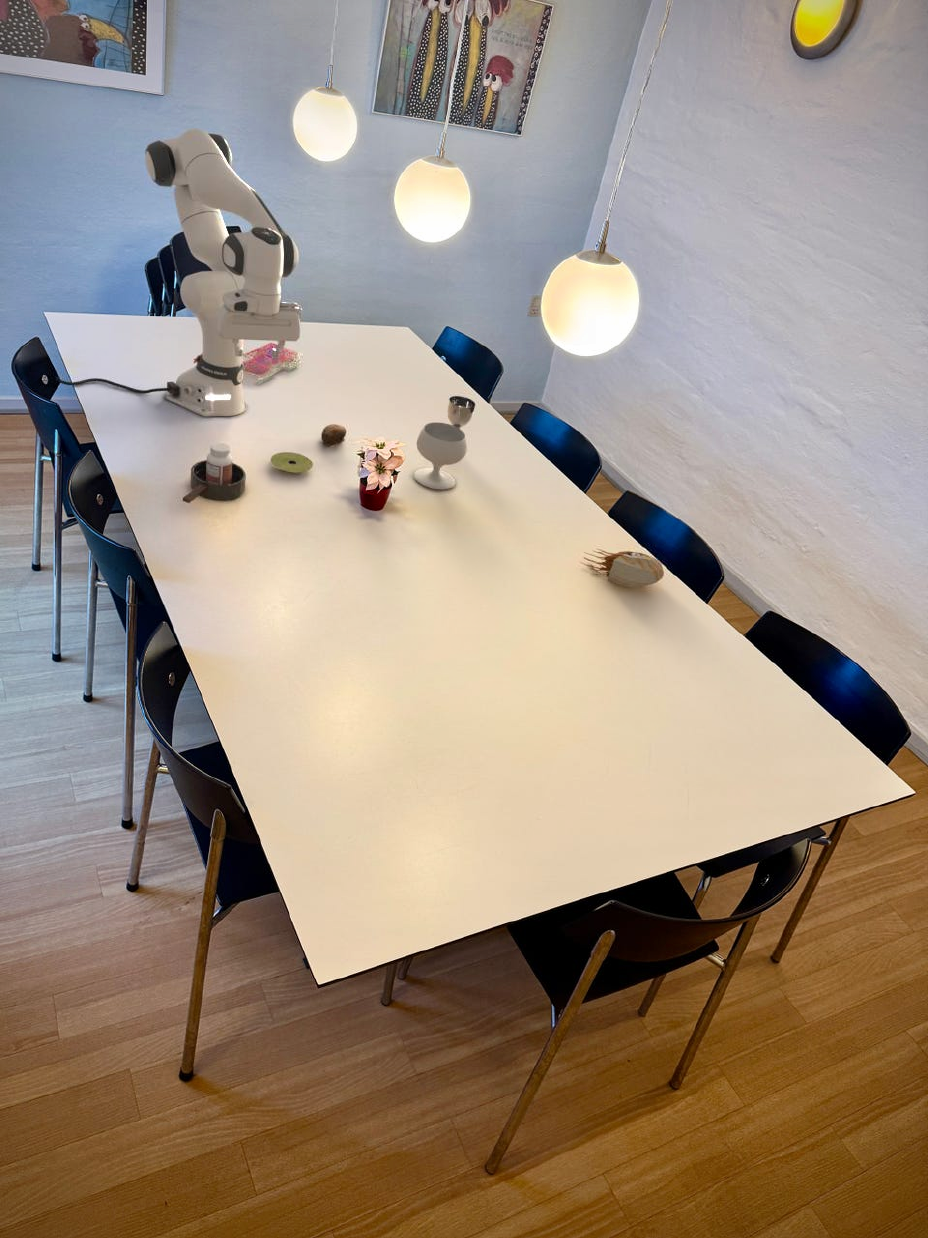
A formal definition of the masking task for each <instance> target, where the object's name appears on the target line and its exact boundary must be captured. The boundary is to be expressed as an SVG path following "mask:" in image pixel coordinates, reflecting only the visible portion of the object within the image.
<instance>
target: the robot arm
mask: <svg viewBox="0 0 928 1238" xmlns="http://www.w3.org/2000/svg"><path fill="white" fill-rule="evenodd" d="M144 153H145V156H144V161H145V167H146V171H147V172H148V174H149V176H150V177H151V180H152V181H153V182H154V184H156V185H157V186H160V187H165V188H166V187H167V188H172V186H174V190H173V196H174V203H175V207H176V212H177V216H178V220H179V223H180V225H181V228H182V232H183V234H184V237H185V240H186V243H187V246H188V248H189V251H190V254H191V255H192V256H193V258H195V259H196V260H198V261H200V262H201V263H203V264H205V265H206V266H207V267H208V268H210V270H202V271H198V272H195V273H192V274H188V275H186V276H185V277H184V278H183V279H182V281H181V284H180V288H179V293H180V299H181V301H182V303H183V305H184V306H185V308H186V309H187V310H188V311H189V312H190V313H192V314H193V315H194V316H195V317H196V319H197V321H198V322H199V325H200V329H201V333H202V334H201V335H202V352H201V353H200V354H199V355H197V356H196V357H195V358H194V359H193V364H196V365H195V366H194V367H191V368H189V369H188V370H186V371H184V372H182V373H180V374H179V376H178V377H177V379H175V382H174V381H167V382H166V387H159V388H158V387H157V388H150V389H145V390H143V389H137V388H133V387H130V386H128V385H125V384H121V383H117V382H114V381H112V380H109V379H105V378H97V377H94V378H87V379H82V380H79V381H66V380H63V379H60V378H58V377H56V378H57V379H56V380H57V381H56V380H55V381H56V382H57V383H59V384H62V385H66V386H79V385H83V384H87V383H91V382H101V383H106V384H109V385H112V386H115V387H116V388H117V387H118V388H120V389H124V390H127V391H130V392H134V393H137V394H149V393H150V394H151V393H156V392H166V394H165V399H166V400H167V401H169V402H172V403H175V404H176V405H178V406H181V407H182V408H185V409H187V410H189V411H191V412H193V413H196V414H198V415H200V416H202V417H216V416H217V417H233V416H237V415H240V414H242V413H244V412H245V409H246V406H245V401H244V395H243V380H244V371H243V369H244V366H245V365H244V362H245V361H244V360H243V357H244V356H243V354H244V344H245V342H244V341H271V342H276V343H277V344H276V345H277V346H276V348H274V347H273V348H272V349H271V350H272V351H271V352H272V355H271V356H273V357H274V358H275V357H279V355H280V351H281V350H282V348H283V347H285V346H286V342H297V341H299V339H300V337H301V319H302V314H303V308H302V306H301V305H299V304H298V303H296V302H286V301H281V295H282V287H281V280H282V278H288V277H289V276H290V275H291V274H292V273H293V272H294V271H295V270H296V268H297V266H298V264H299V260H300V256H299V255H300V254H299V249H298V247H297V245H296V243H295V241H294V240H293V238H292V237H291V236H290V235H289V234H288V233H287V232H286V231H285V230H284V229H283V228H282V226H281V225H280V224H279V223H278V221H277V219H276V218H275V217H274V215H273V214H272V213H271V211H270V210H269V208H268V206H267V205H266V204H265V202H264V201H263V199H262V198H261V197H260V195H259V194H258V193H257V191H256V190H255V189H253V188H252V186H250V185H248V184H247V183H246V182H244V181H243V180H242V179H241V177H239V176H238V174H236V172H235V171H234V170H233V156H232V155H233V154H232V152H231V149H230V146H229V144H228V141H227V140H226V139H225V138H224V137H223V136H222V135H220V134H217V133H208V132H206V131H205V130H202V129H199V128H191V129H188V130H185V131H184V132H182V133H181V134H180V136H178V137H172V138H168V139H165V140H162V141H161V140H156V141H154V142H151V143H149V144H148V145H147V147H146V148H145V152H144ZM221 212H226V213H230V214H231V215H232V214H233V215H236V216H238V217H241V218H242V219H244V220H245V221H247V222H248V223H249V225H250V226H251V227H252V228H251V229H249V231H246V232H233V233H230V234H229V232H228V229H227V227H226V225H225V222H224V219H223V215H222V213H221ZM273 357H272V358H273ZM58 379H59V381H58ZM72 382H73V383H72Z"/></svg>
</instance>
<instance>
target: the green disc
mask: <svg viewBox="0 0 928 1238" xmlns="http://www.w3.org/2000/svg"><path fill="white" fill-rule="evenodd" d="M270 463H271V465H272V466H274V467H275V468H277V469H279V470H280V471H281V470H282V471H284V472H288V473H304V472H307V471H309V470H311V469H312V468H313V466H314V464H313V463H314V462H313V461H312V459H310V458H309V457H308V456H305V455H303V454H300V453H297V452H291V451H283V452H277V453H275V454H273V455H272V456H271V457H270Z"/></svg>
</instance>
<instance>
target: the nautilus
mask: <svg viewBox="0 0 928 1238" xmlns="http://www.w3.org/2000/svg"><path fill="white" fill-rule="evenodd" d="M597 550H598V551H595V550H591V551H592V552H594V553H597V554H600V555H603V556H597V555H594V554H591V553H588V552H583V553H584V554H586V555H590V556H593V557H596V558H597V559H601V561H602V560H603V561H602V562H599V561H596V560H592V559H589V558H587V557H585V556H583V559H584V560H586V561H588V562H591V563H594V564H596V565H599V566H600V567H598V566H594V565H592V564H586V563H583V562H581V561H579V563H581V564H583V565H584V566H587V567H590V568H591V570H592V571H595V572H596V573H597V574H593V575H595V576H596V575H597V576H600V575H602V576H605V578H606V577H607V581H610V582H613V583H616V584H617V585H621V586H624V587H628V588H633V589H634V588H643V587H647V586H651V585H654V584H657V582H659V581H660V580H662V579H663V577H664V576H665V571H664V568H663V563H662V562H661V561H660V560H658V558H656V557H654V556H650V555H648V554H645V553H643V552H638V551H630V550H626V551H625V550H624V551H619V552H615V553H613V552H607V551H605V550H603V549H599V548H597Z"/></svg>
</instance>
